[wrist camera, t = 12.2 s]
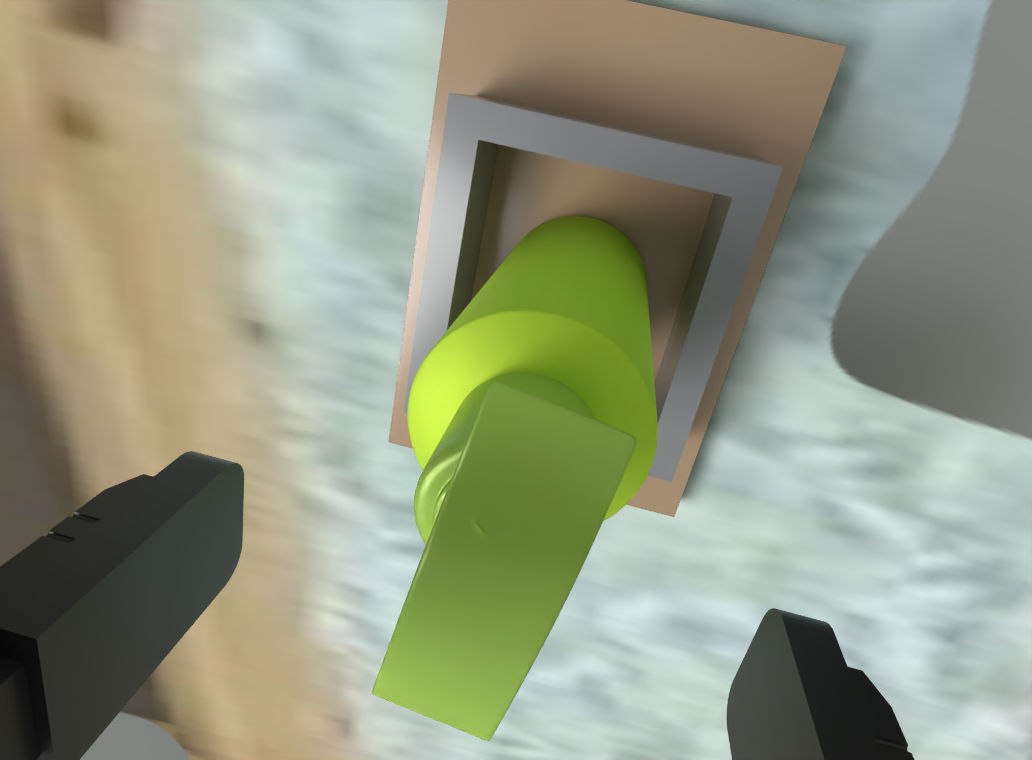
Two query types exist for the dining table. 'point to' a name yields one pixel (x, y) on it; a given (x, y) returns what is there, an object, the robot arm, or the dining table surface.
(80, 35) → the dining table surface
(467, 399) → the soap dispenser
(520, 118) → the soap caddy
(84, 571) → the robot arm
